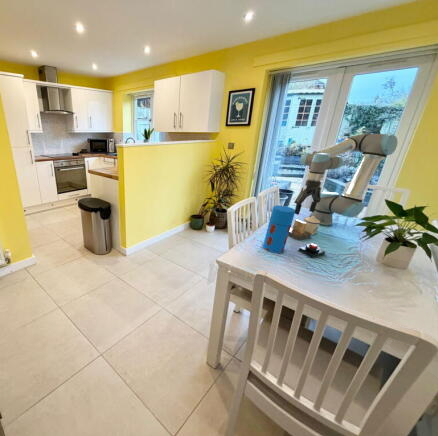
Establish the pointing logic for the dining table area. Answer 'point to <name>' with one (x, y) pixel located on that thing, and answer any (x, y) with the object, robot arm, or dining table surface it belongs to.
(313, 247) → the button
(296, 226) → the tan square slab
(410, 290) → the dining table surface
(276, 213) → the thermos
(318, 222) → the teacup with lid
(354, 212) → the robot arm
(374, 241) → the dining table surface
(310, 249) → the button box
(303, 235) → the brown flat piece
